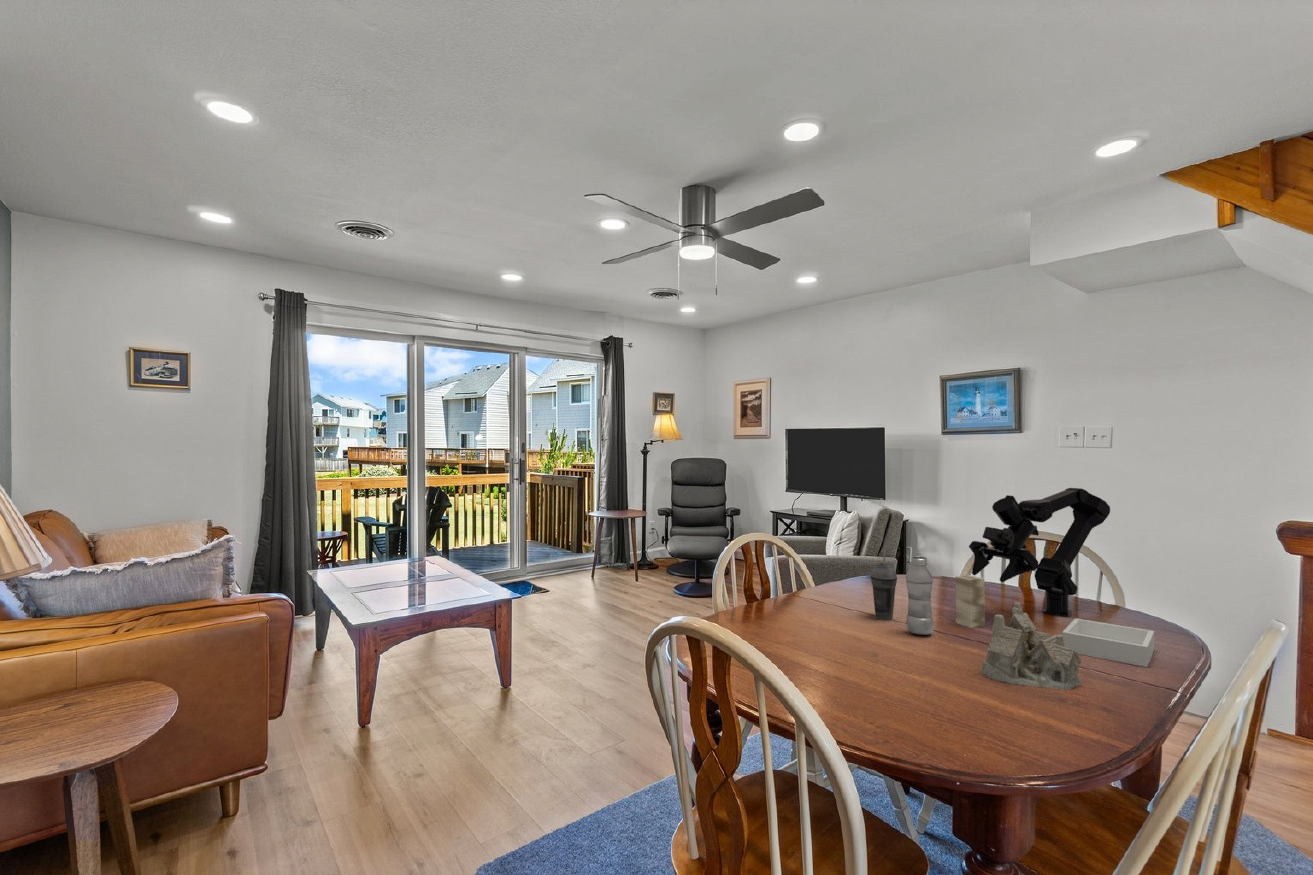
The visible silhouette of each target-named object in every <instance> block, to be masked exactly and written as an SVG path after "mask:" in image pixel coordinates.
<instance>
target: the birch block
mask: <svg viewBox="0 0 1313 875" xmlns="http://www.w3.org/2000/svg"><path fill="white" fill-rule="evenodd" d="M985 602H986V601H985V578H982V577H980V576H976V575H970V574H965V575H956V576H955V624H957V625H960V626H963V627H966V628H969V629H975V628H981V627H985V626H986V625H985V624H986V620H985V615H986V613H985V612H986V611H985V608H986V606H985Z"/></svg>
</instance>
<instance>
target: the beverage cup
mask: <svg viewBox="0 0 1313 875" xmlns="http://www.w3.org/2000/svg"><path fill="white" fill-rule="evenodd" d="M886 551H887V550H886V548H883V563H878V564H876V565H875V566H874V567H873V568H872V570H871V573H870V581H871V586H872V595H873V604H874V605H873V606H874V613H875V614H874V615H875V618H876V619H877V620H880V621H892V620H893V615H894V609H895V597H896V595H895V594H896V586H897V582H898V577H897V572H896V570H895V568H894V567H893V566H891V565H890V564H888V563H886V555H887V554H886Z"/></svg>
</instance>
